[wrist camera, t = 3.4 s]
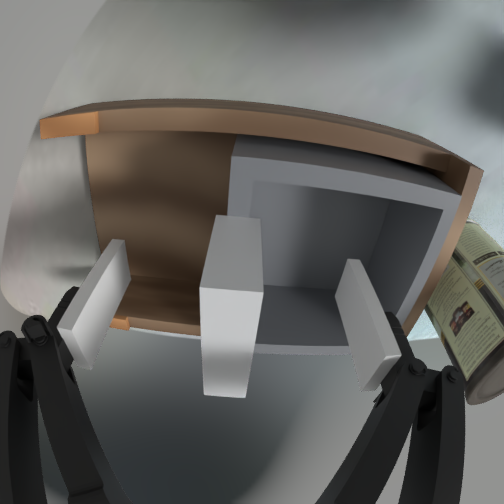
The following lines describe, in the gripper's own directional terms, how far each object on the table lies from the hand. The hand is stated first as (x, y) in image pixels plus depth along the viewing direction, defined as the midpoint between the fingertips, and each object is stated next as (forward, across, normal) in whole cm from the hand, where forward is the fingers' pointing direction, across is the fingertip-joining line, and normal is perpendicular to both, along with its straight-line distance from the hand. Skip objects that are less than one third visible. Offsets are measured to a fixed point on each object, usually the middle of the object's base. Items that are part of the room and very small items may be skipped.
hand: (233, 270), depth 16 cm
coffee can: (+8, +22, -3) cm, 23 cm away
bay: (+8, +1, 0) cm, 8 cm away
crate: (+6, +5, 0) cm, 8 cm away
